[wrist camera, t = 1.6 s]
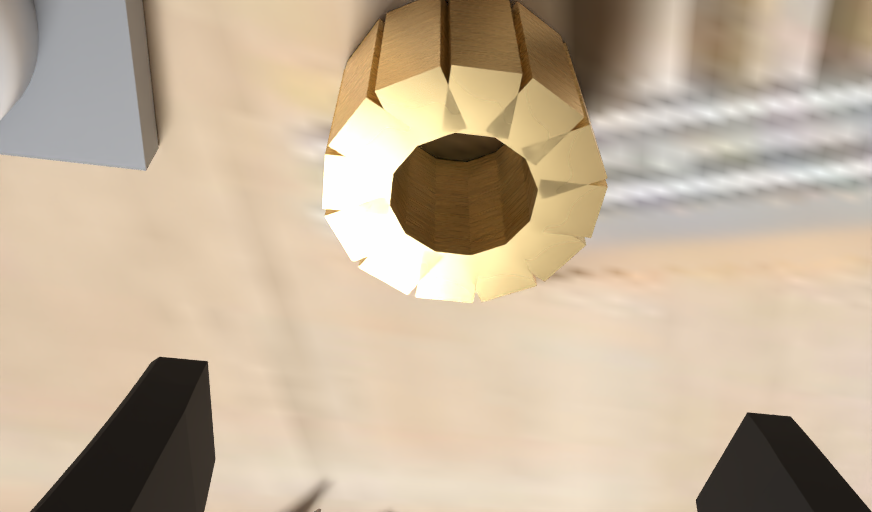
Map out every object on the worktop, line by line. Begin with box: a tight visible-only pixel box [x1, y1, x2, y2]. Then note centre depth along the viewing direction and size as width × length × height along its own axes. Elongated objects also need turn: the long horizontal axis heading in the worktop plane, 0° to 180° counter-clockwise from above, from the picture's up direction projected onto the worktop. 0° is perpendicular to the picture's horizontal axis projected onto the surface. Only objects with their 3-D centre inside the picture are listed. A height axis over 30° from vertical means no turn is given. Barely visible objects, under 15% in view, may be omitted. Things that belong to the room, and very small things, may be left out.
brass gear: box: [323, 0, 607, 303], centre depth 16 cm, size 5×5×4 cm
